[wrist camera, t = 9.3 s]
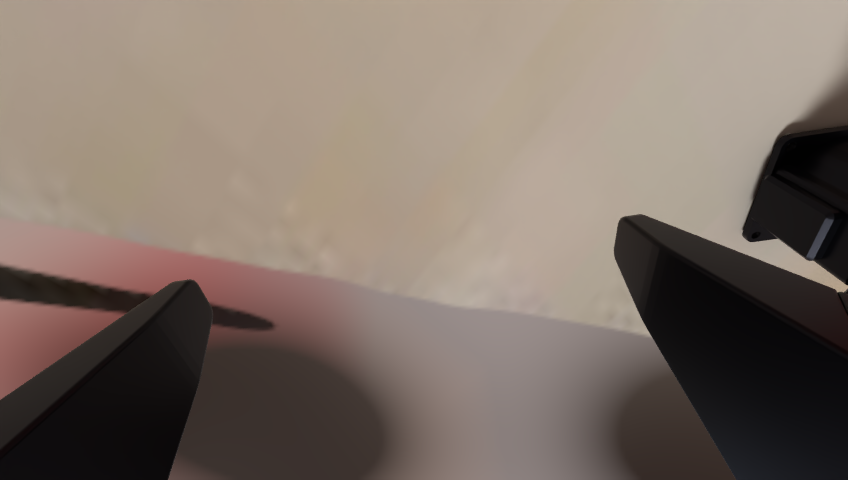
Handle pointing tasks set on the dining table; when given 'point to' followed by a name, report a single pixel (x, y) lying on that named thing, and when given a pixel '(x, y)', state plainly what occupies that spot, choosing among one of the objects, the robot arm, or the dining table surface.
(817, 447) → the robot arm
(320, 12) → the dining table surface
